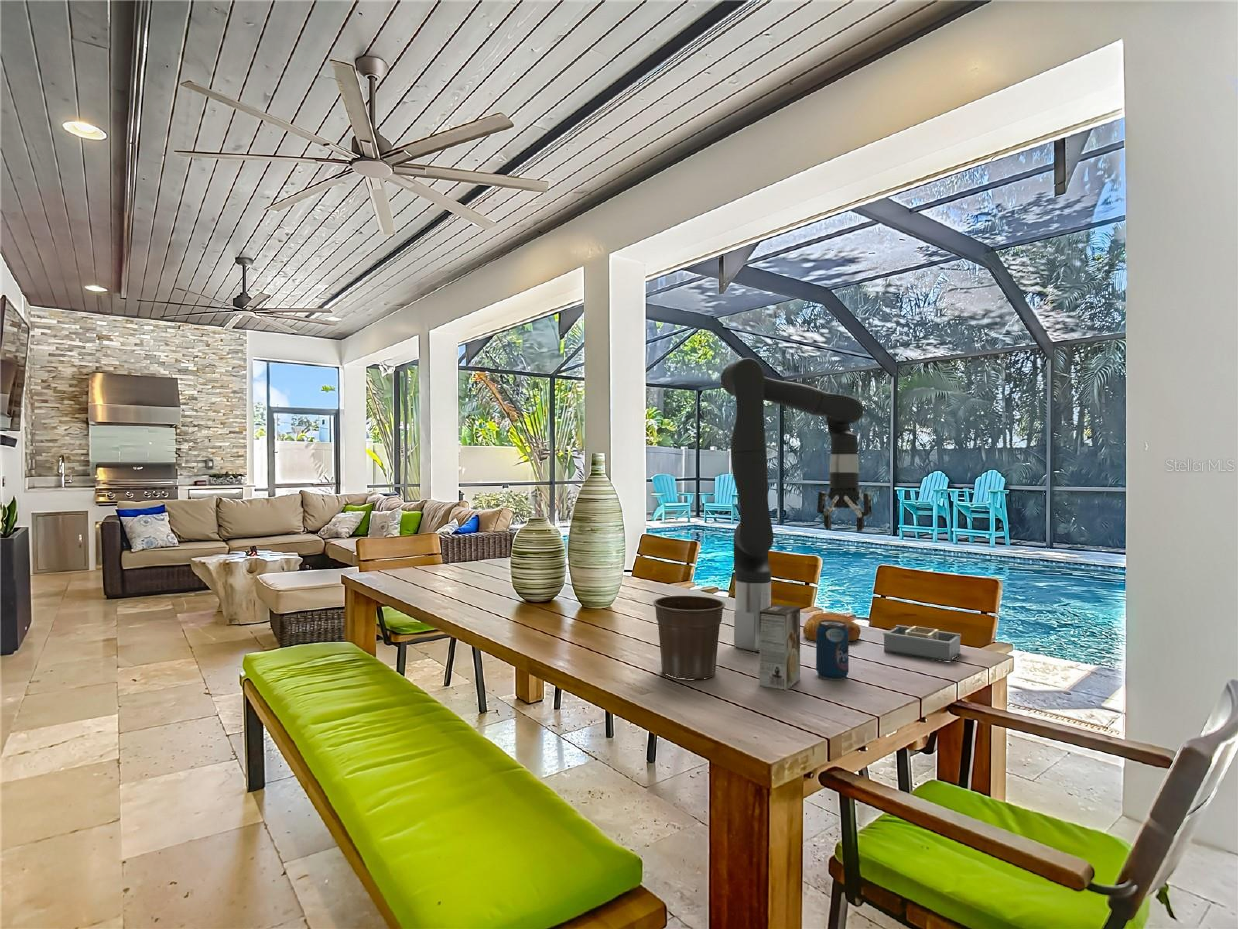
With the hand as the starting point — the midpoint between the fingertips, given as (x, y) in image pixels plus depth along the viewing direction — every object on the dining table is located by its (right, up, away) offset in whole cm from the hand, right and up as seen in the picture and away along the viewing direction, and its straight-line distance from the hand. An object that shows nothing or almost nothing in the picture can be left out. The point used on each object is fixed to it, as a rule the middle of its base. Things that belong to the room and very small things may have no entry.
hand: (843, 530), depth 185 cm
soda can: (-14, -30, -33) cm, 47 cm away
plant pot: (-46, -30, -32) cm, 63 cm away
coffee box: (-27, -30, -38) cm, 55 cm away
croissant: (-3, -31, +3) cm, 31 cm away
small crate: (+16, -30, -12) cm, 36 cm away
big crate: (+16, -30, -12) cm, 36 cm away
